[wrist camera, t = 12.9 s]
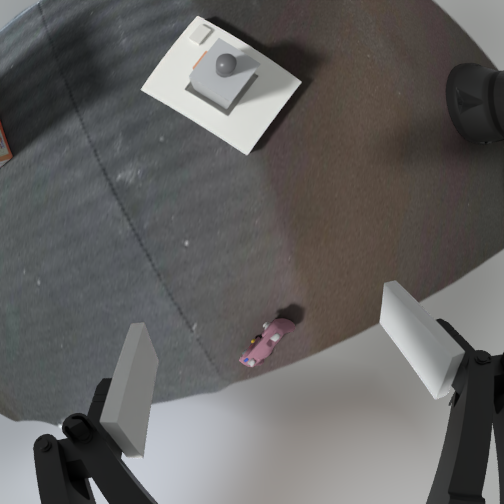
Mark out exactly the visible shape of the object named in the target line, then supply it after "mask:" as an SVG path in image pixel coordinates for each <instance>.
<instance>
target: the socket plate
mask: <svg viewBox="0 0 504 504" xmlns="http://www.w3.org/2000/svg"><path fill="white" fill-rule="evenodd" d="M218 38H220V39H222V40H223V41H225V42H227V43H228V44H230V45H232V46H233V47H235V48H237V49H238V50H240V51H242V52H243V53H245V54H246V55H248V56H250V57H251V58H253V59H254V60H256V61H257V62H259V63H260V66H259V67H258V68H257V70H256V71H255V72H254V74H253V75H252V77H251V78H250V79H249V81H248V82H247V83H246V85H245V86H244V87H243V88H242V90H241V91H240V92H239V94H238V95H237V96H236V98H235V99H234V100H233V102H232V103H231V105H230V106H229V107H228V109H227V110H226V109H224V108H223V107H221V106H219V105H218V104H216V103H215V102H213V101H211V100H210V99H208V98H207V97H205V96H203V95H202V94H200V93H198V92H197V91H195V90H194V88H193V86H192V83H191V81H190V78H189V75H190V74H191V72H192V71H193V66H194V65H195V64H196V63H197V61H198V60H199V59H200V57H201V56H202V55H203V54H204V52H205V51H208V50H209V49H210V48H211V47H212V46H213V44H214V43H215V42H216V41H217V39H218ZM300 84H301V81H300V80H299V79H297V78H296V77H294V76H293V75H292V74H290V73H289V72H288V71H286V70H285V69H283V68H282V67H281V66H279V65H278V64H276V63H275V62H273V61H272V60H270V59H269V58H267V57H266V56H264V55H263V54H261V53H260V52H258V51H257V50H255V49H254V48H252V47H251V46H249V45H247V44H246V43H244V42H243V41H241V40H239V39H238V38H236V37H234V36H233V35H231V34H229V33H228V32H226V31H224V30H222V29H221V28H219V27H217V26H215V25H213V24H212V23H210V22H208V21H206V20H204V19H202V18H201V17H199V16H197V17H196V18H195V19H194V20H193V22H192V23H191V24H190V25H189V26H188V27H187V29H186V30H185V31H184V32H183V33H182V35H181V36H180V37H179V38H178V40H177V41H176V42H175V43H174V45H173V46H172V47H171V48H170V50H169V51H168V52H167V54H166V55H165V56H164V58H163V59H162V60H161V62H160V63H159V64H158V66H157V67H156V68H155V70H154V71H153V73H152V74H151V75H150V77H149V78H148V80H147V81H146V83H145V84H144V86H143V87H142V89H141V90H142V91H144V92H145V93H147V94H149V95H151V96H152V97H154V98H156V99H158V100H159V101H161V102H163V103H164V104H166V105H168V106H169V107H171V108H173V109H175V110H176V111H178V112H180V113H181V114H183V115H184V116H186V117H188V118H189V119H191V120H193V121H194V122H196V123H197V124H199V125H201V126H202V127H204V128H205V129H207V130H209V131H210V132H212V133H213V134H215V135H216V136H218V137H220V138H221V139H223V140H224V141H226V142H227V143H229V144H230V145H232V146H233V147H235V148H236V149H238V150H239V151H241V152H242V153H244V154H245V155H248V154H249V152H250V151H251V150H252V148H253V147H254V145H255V144H256V143H257V141H258V140H259V138H260V137H261V136H262V134H263V133H264V132H265V130H266V129H267V127H268V126H269V125H270V123H271V122H272V121H273V119H274V118H275V117H276V115H277V114H278V113H279V111H280V110H281V109H282V107H283V106H284V105H285V103H286V102H287V101H288V99H289V98H290V97H291V95H292V94H293V93H294V91H295V90H296V89H297V88H298V86H299V85H300Z"/></svg>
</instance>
